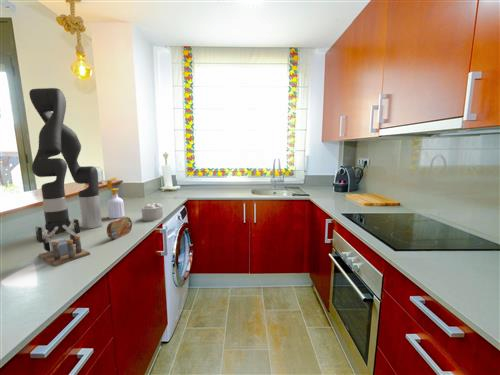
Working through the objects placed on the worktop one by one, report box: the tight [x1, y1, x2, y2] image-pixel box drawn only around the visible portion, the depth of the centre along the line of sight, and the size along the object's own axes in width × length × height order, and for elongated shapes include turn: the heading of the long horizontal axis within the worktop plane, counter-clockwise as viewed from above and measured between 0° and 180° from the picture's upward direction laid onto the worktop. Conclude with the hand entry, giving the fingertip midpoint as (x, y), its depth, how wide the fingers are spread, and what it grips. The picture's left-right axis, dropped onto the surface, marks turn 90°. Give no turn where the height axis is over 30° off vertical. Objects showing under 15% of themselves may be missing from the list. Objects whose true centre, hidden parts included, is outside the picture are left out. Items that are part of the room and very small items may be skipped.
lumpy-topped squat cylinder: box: [141, 202, 164, 222], centre depth 155 cm, size 10×13×9 cm
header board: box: [38, 235, 91, 267], centre depth 101 cm, size 16×12×8 cm
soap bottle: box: [106, 177, 126, 219], centre depth 157 cm, size 9×9×25 cm
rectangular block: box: [49, 237, 68, 256], centre depth 102 cm, size 4×9×4 cm, turn 56°
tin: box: [106, 216, 133, 240], centre depth 123 cm, size 15×3×8 cm, turn 168°
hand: (61, 247), depth 102 cm, fingers open, 8 cm apart
